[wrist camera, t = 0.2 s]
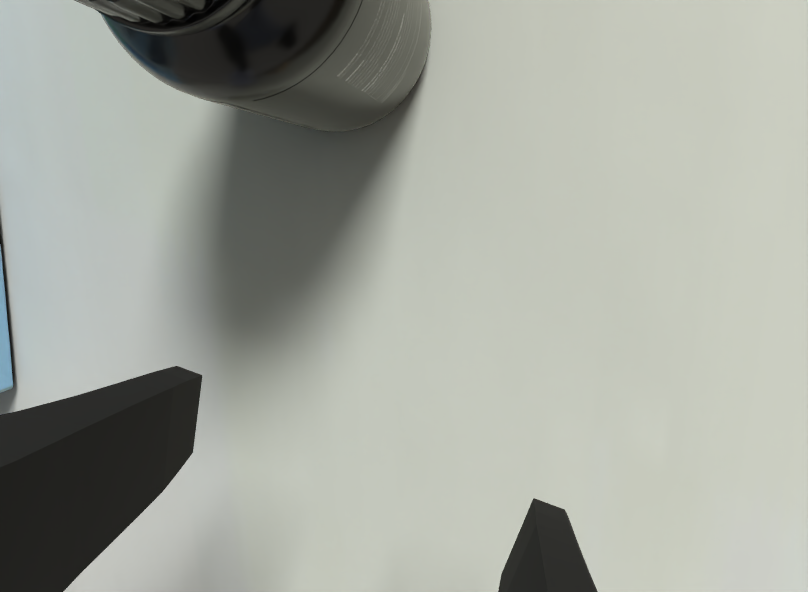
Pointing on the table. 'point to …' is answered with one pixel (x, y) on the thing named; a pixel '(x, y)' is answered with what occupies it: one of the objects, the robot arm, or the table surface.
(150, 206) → the table surface
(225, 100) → the supplement bottle
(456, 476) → the table surface
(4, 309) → the gum box
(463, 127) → the table surface
